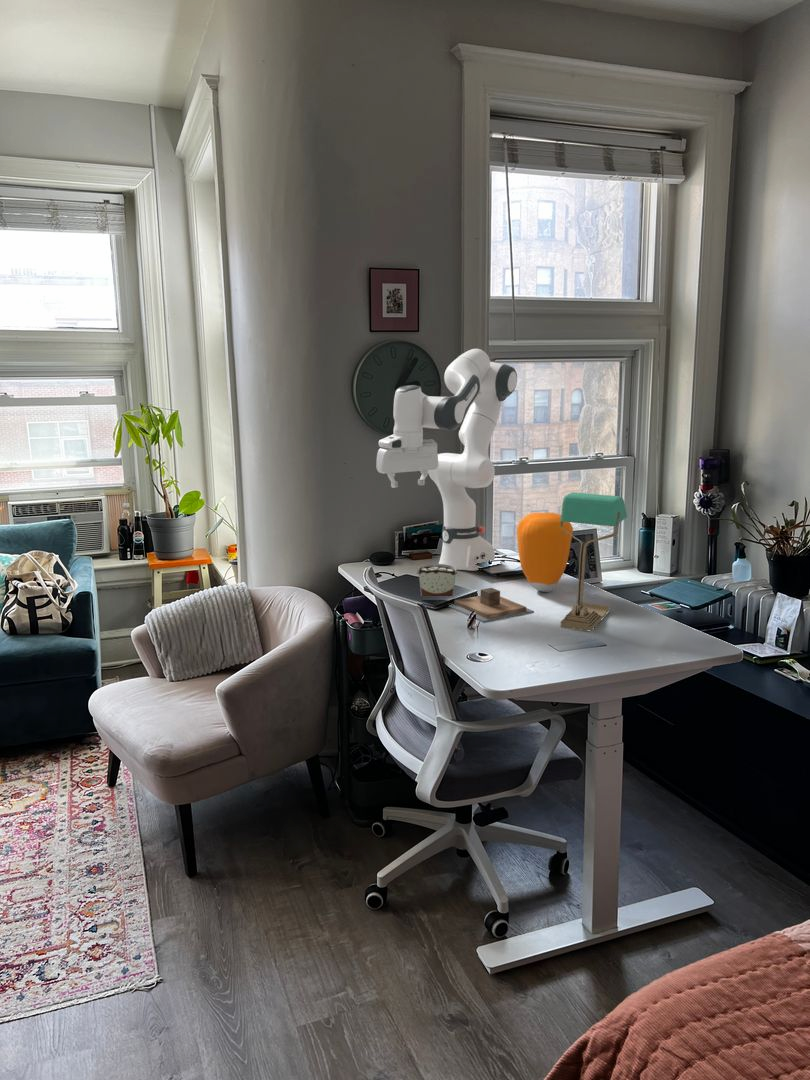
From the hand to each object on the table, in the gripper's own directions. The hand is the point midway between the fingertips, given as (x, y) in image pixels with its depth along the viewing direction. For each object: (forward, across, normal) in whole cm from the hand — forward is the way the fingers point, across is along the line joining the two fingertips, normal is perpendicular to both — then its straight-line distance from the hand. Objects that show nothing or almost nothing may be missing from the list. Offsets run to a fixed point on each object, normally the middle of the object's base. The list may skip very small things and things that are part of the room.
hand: (407, 486), depth 248 cm
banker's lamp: (+33, -29, +49) cm, 66 cm away
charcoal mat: (+33, -11, +28) cm, 45 cm away
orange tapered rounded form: (+33, -36, +22) cm, 54 cm away
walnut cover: (+33, -11, +28) cm, 44 cm away
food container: (+33, -4, +11) cm, 35 cm away
